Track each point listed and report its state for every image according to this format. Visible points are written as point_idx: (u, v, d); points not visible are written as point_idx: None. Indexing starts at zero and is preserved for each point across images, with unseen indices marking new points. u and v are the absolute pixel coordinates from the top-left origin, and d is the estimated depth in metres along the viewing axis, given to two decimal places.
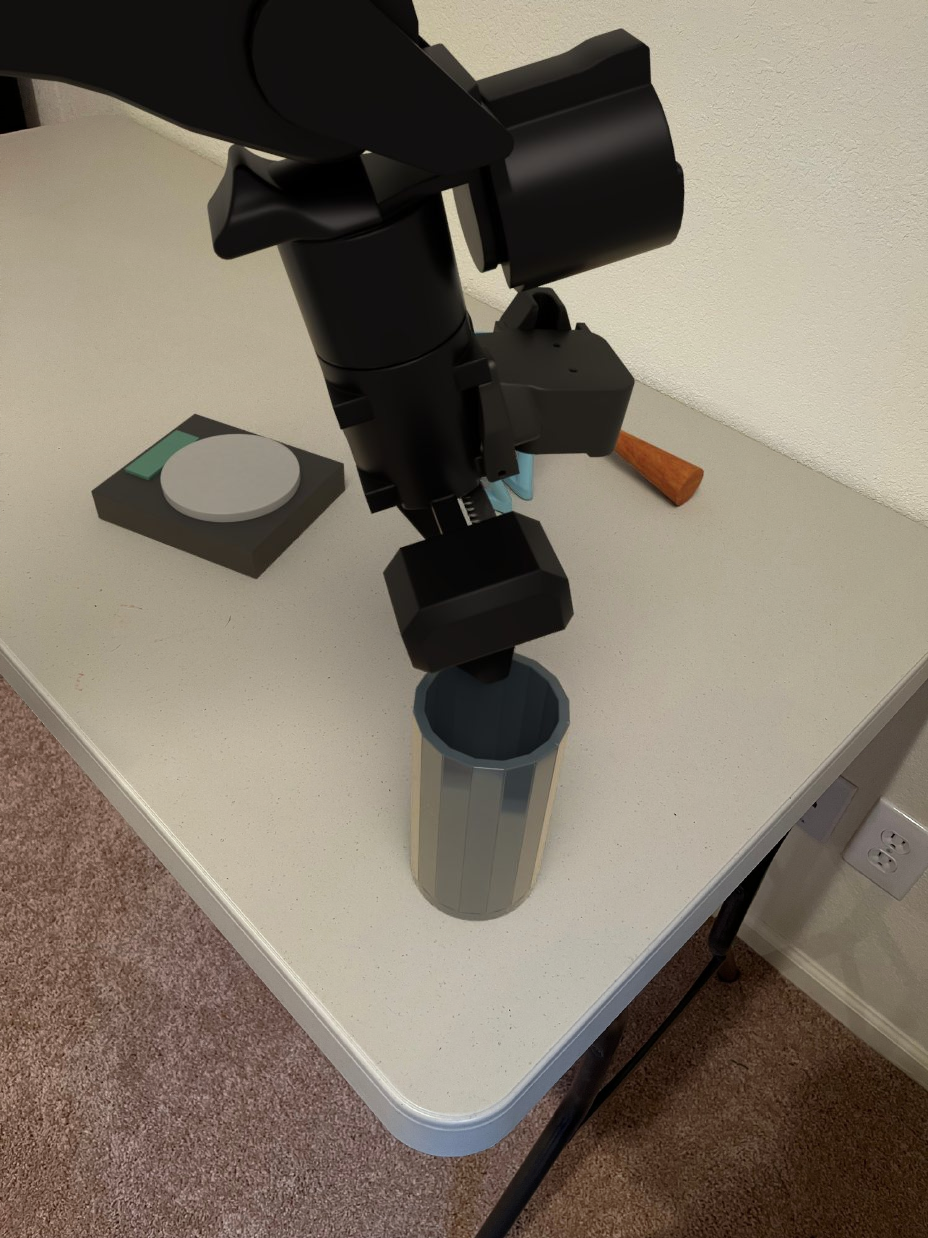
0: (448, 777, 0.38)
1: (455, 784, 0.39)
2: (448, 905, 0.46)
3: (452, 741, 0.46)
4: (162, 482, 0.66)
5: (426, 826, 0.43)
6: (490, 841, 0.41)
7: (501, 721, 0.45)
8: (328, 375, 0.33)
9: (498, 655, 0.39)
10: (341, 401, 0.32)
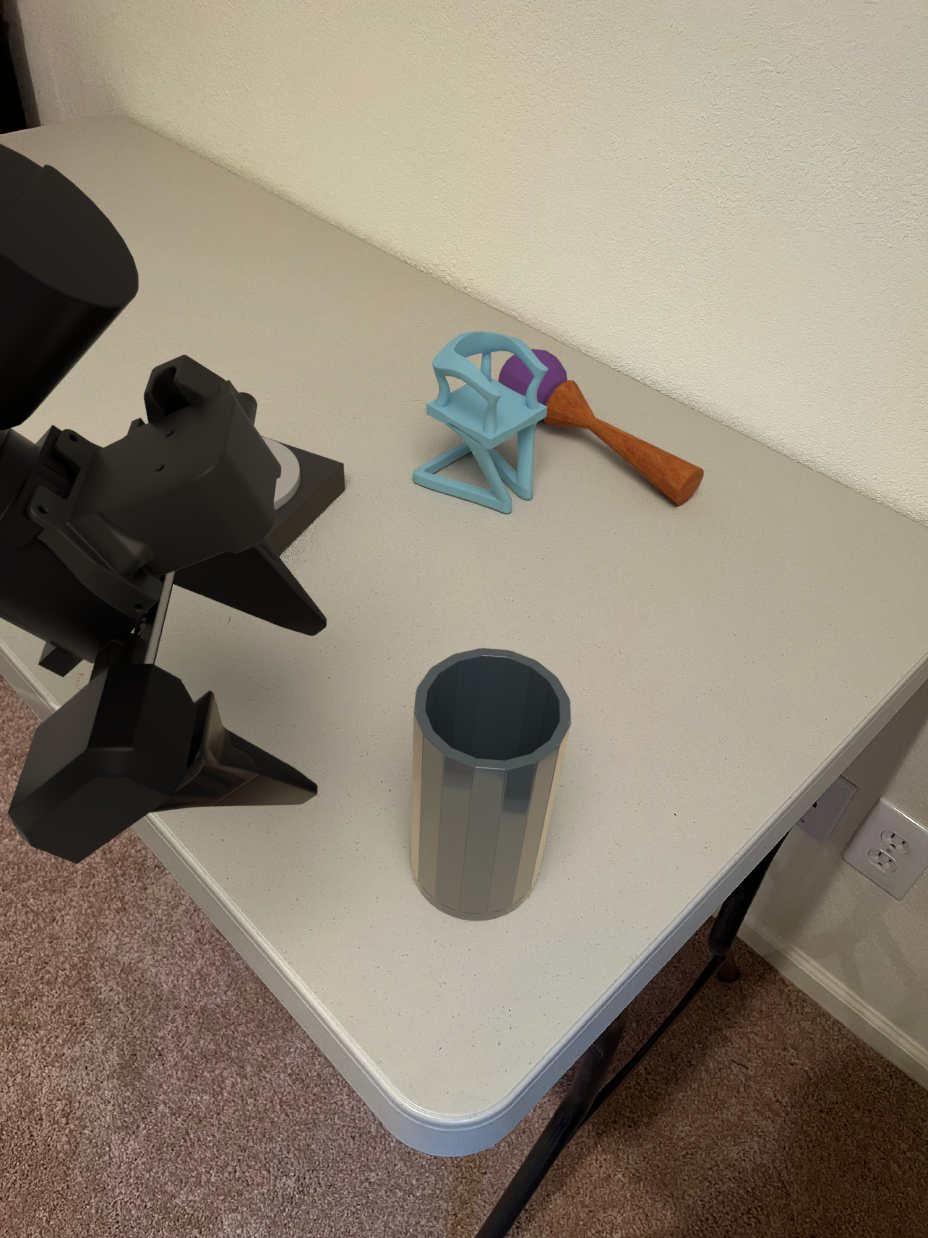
0: (449, 777, 0.38)
1: (456, 784, 0.39)
2: (448, 905, 0.46)
3: (452, 741, 0.46)
4: None
5: (427, 826, 0.43)
6: (491, 841, 0.41)
7: (501, 721, 0.45)
8: None
9: (259, 786, 0.33)
10: None
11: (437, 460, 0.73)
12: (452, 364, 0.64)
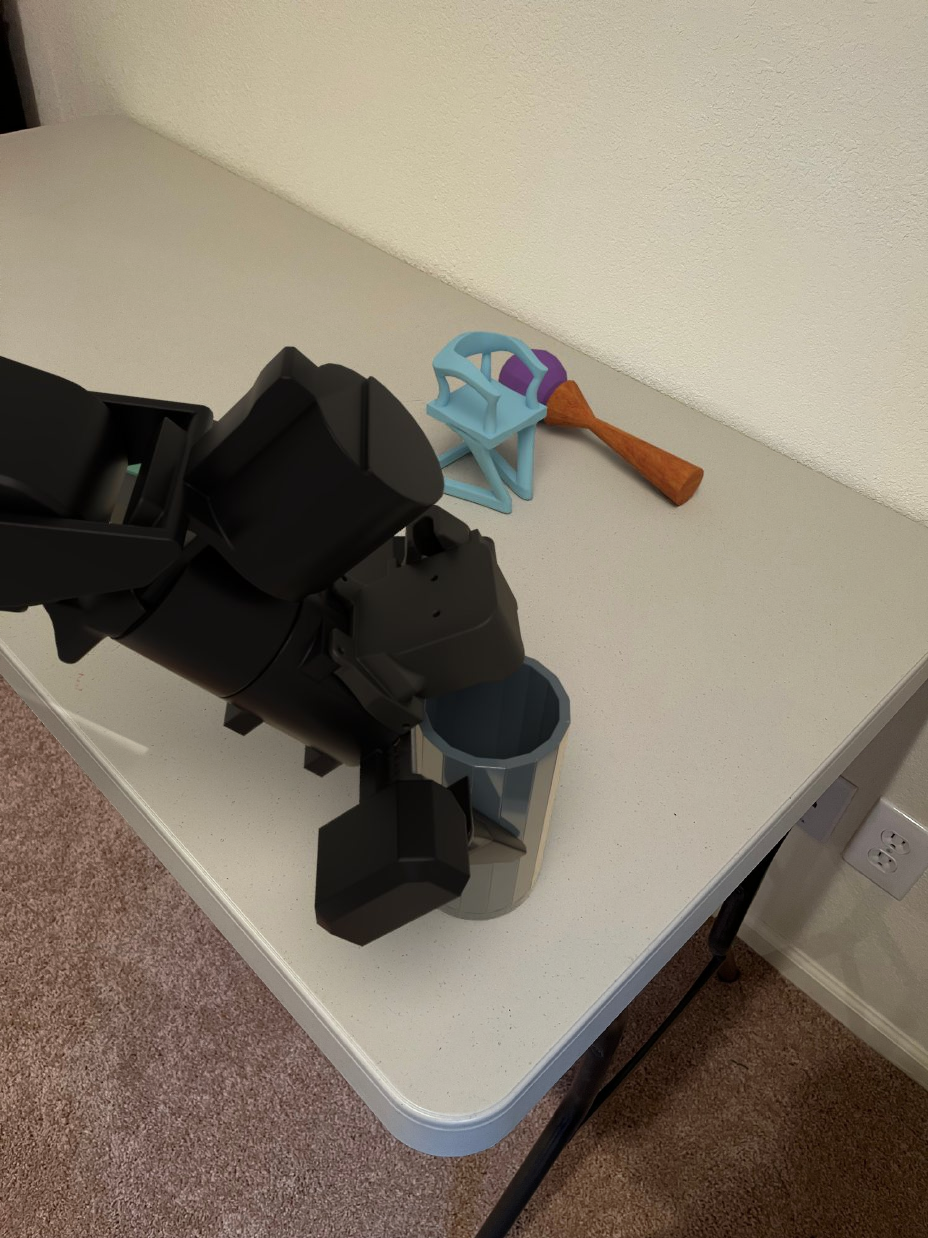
0: (449, 776, 0.39)
1: None
2: (448, 905, 0.46)
3: (453, 740, 0.46)
4: None
5: None
6: None
7: (501, 720, 0.45)
8: None
9: (487, 850, 0.39)
10: (229, 718, 0.36)
11: None
12: (452, 364, 0.64)
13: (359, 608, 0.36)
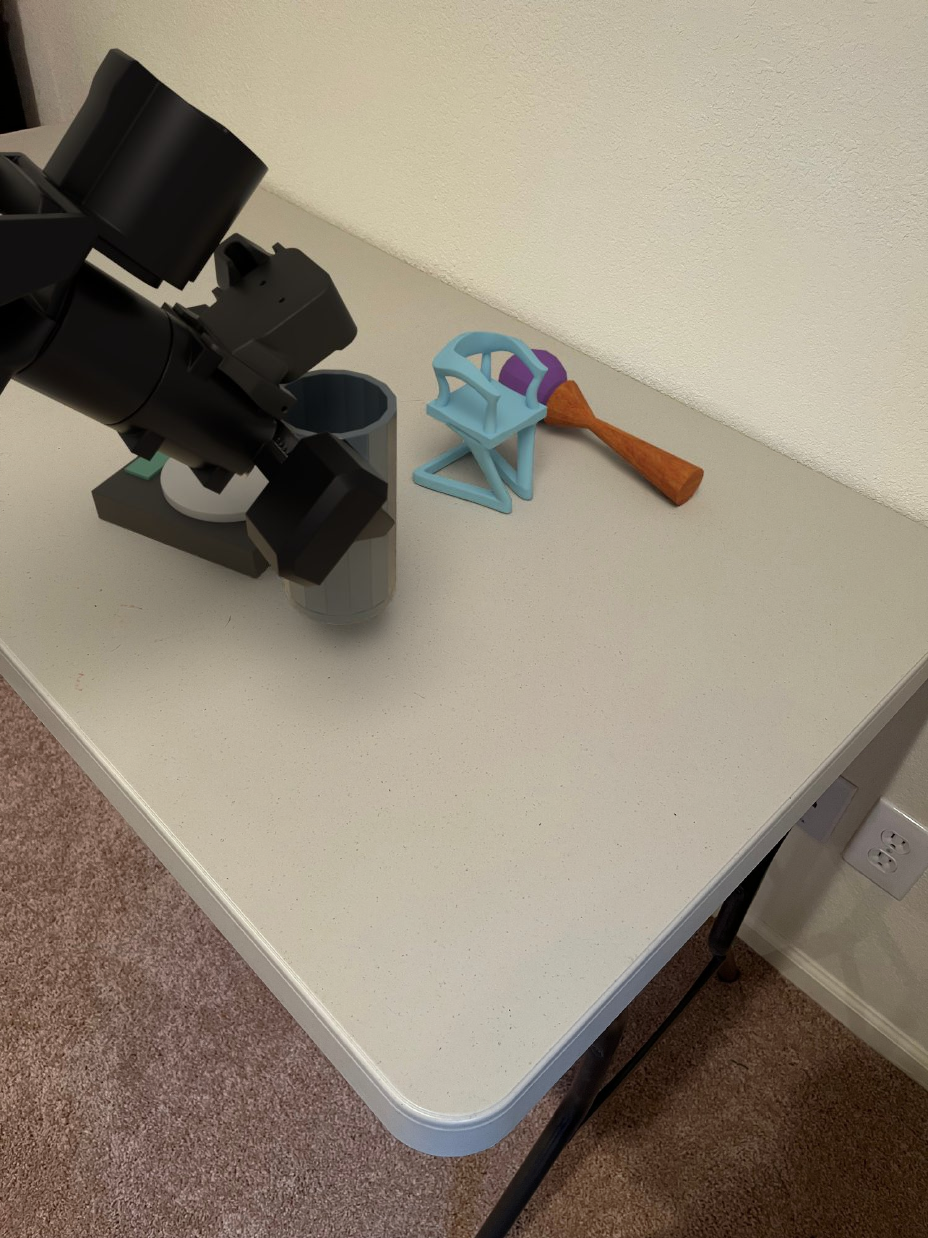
0: None
1: None
2: (340, 613, 0.53)
3: None
4: (162, 482, 0.66)
5: None
6: None
7: None
8: (115, 429, 0.40)
9: None
10: (134, 444, 0.40)
11: (437, 460, 0.73)
12: (452, 364, 0.64)
13: (208, 325, 0.42)
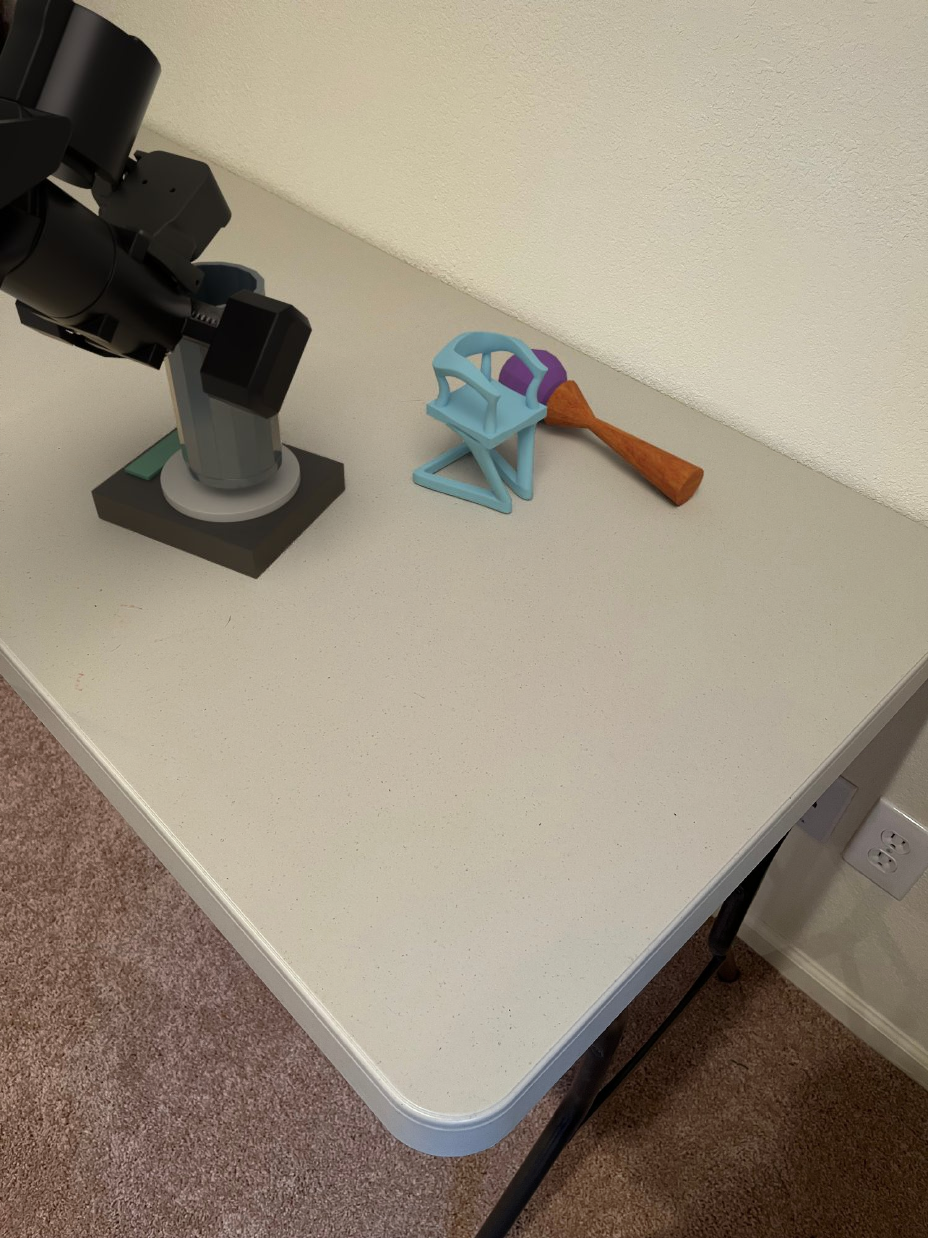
0: None
1: None
2: (252, 473, 0.63)
3: None
4: (162, 482, 0.66)
5: (217, 404, 0.58)
6: None
7: None
8: (73, 322, 0.47)
9: None
10: (97, 328, 0.47)
11: (437, 460, 0.73)
12: (452, 364, 0.64)
13: (114, 224, 0.49)
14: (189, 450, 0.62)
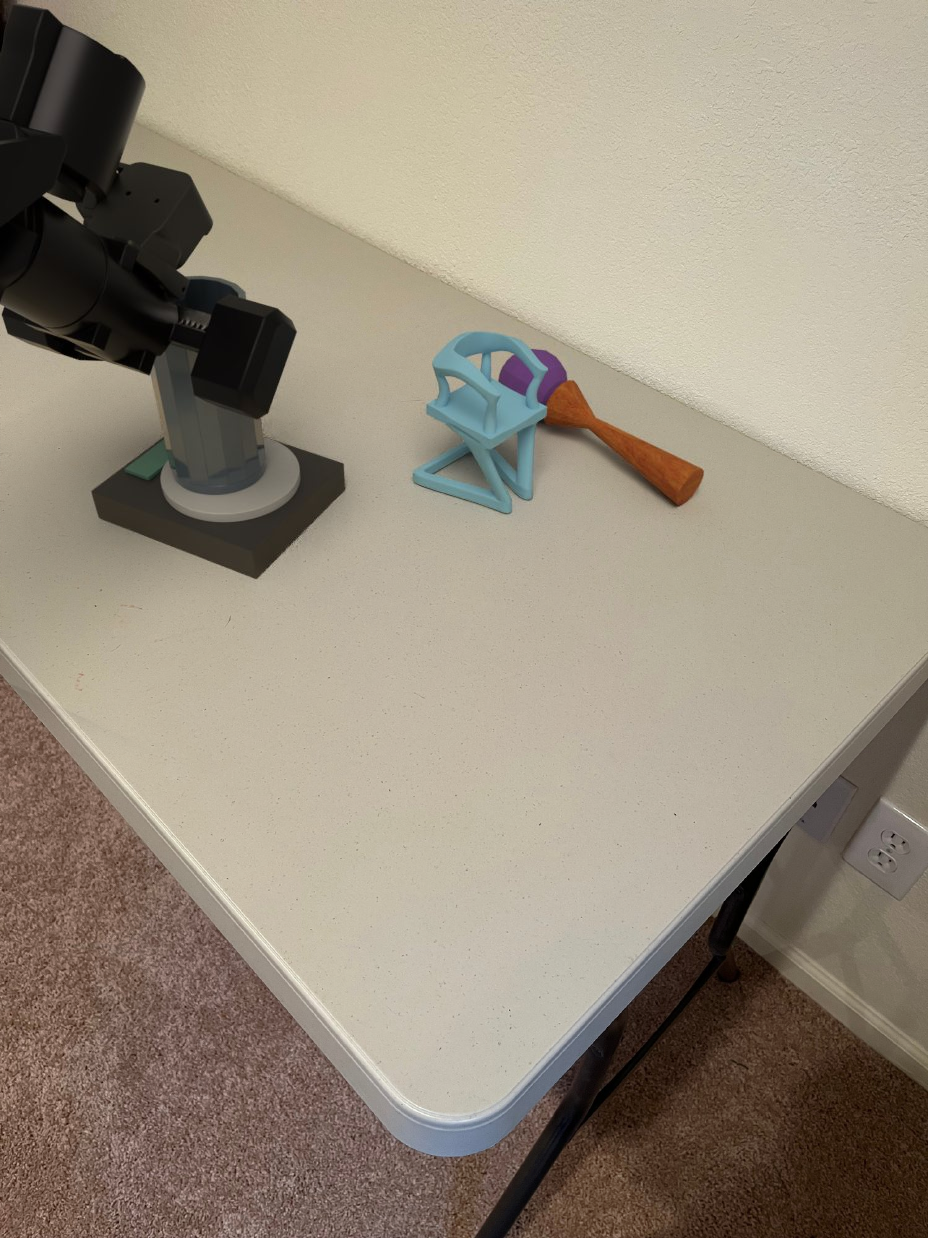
0: None
1: None
2: (239, 479, 0.65)
3: None
4: (162, 482, 0.66)
5: (204, 414, 0.60)
6: None
7: None
8: (67, 331, 0.49)
9: None
10: (91, 337, 0.49)
11: (437, 460, 0.73)
12: (452, 364, 0.64)
13: (101, 235, 0.51)
14: (177, 459, 0.64)
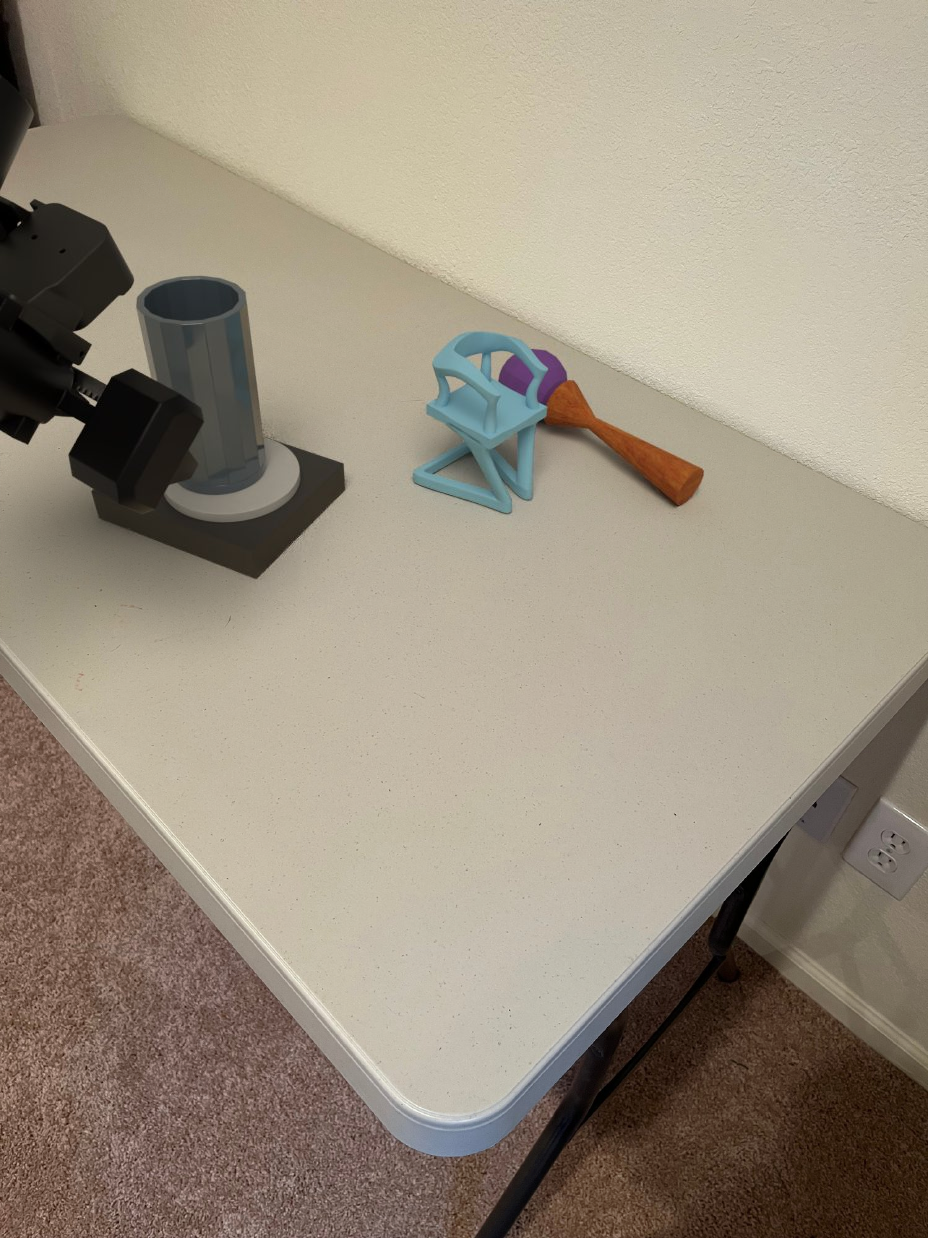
0: (211, 342, 0.57)
1: (217, 344, 0.57)
2: (239, 479, 0.65)
3: None
4: None
5: (204, 414, 0.60)
6: (246, 388, 0.61)
7: None
8: None
9: None
10: None
11: (437, 460, 0.73)
12: (452, 364, 0.64)
13: None
14: None
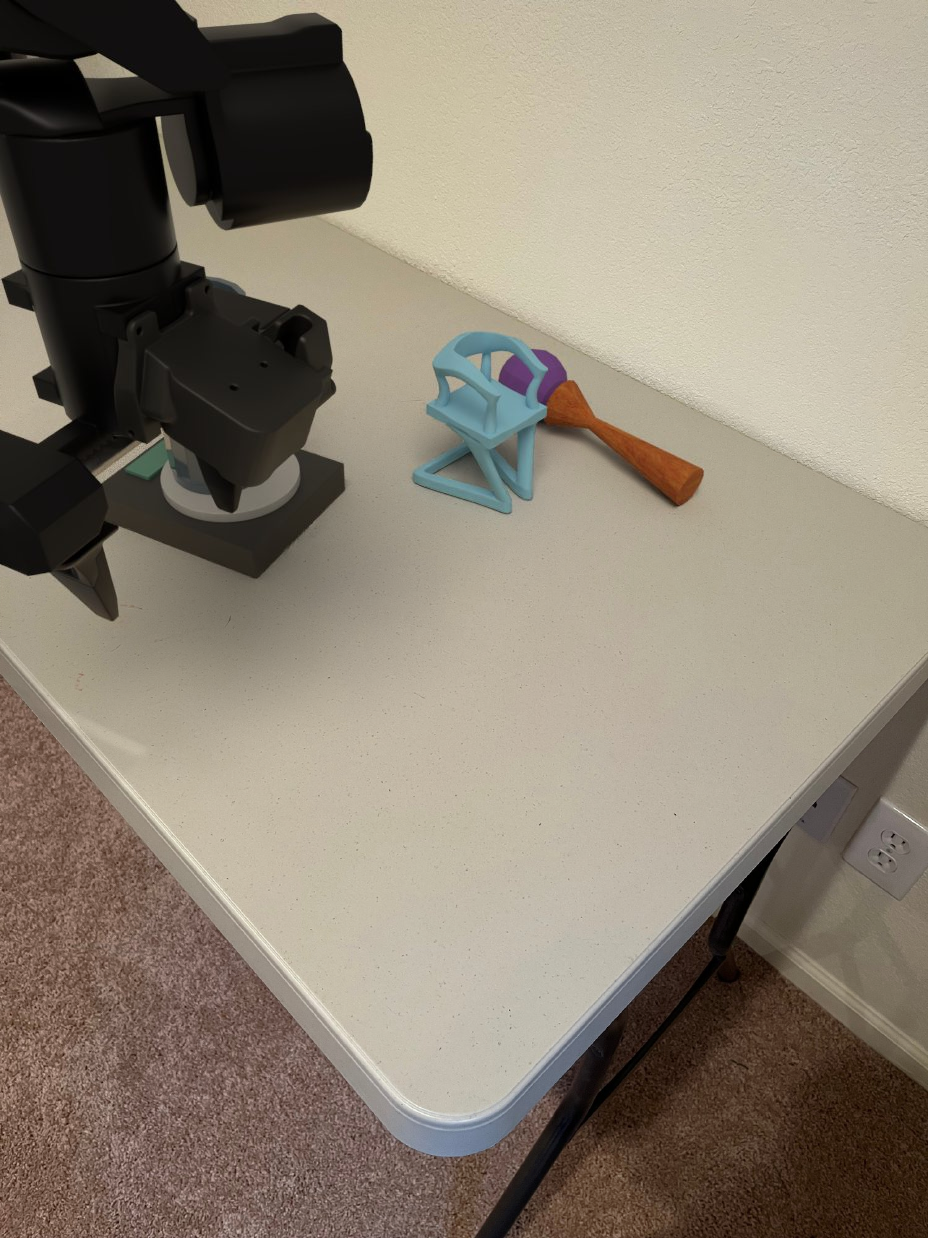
0: None
1: None
2: None
3: None
4: (162, 482, 0.66)
5: None
6: None
7: None
8: None
9: (84, 588, 0.40)
10: (11, 279, 0.34)
11: (437, 460, 0.73)
12: (452, 364, 0.64)
13: (192, 321, 0.36)
14: (177, 459, 0.64)
